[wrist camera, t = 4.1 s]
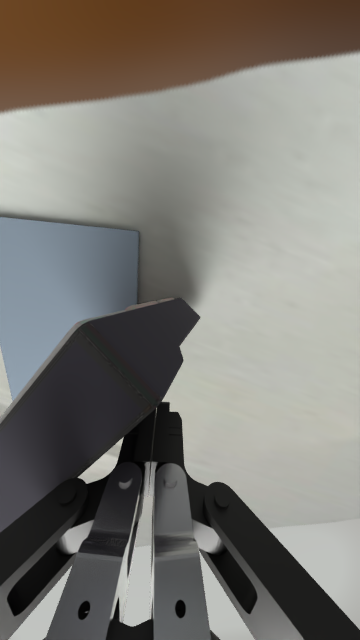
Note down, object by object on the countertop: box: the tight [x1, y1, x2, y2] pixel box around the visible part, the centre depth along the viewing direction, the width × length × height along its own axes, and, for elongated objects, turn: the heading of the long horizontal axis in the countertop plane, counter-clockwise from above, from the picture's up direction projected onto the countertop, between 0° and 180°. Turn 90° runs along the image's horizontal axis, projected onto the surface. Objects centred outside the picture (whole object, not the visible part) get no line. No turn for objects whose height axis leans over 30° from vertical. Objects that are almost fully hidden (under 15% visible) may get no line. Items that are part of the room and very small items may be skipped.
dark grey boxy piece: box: [0, 297, 200, 532], centre depth 15 cm, size 11×4×15 cm, turn 137°
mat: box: [0, 217, 139, 401], centre depth 22 cm, size 15×22×1 cm
